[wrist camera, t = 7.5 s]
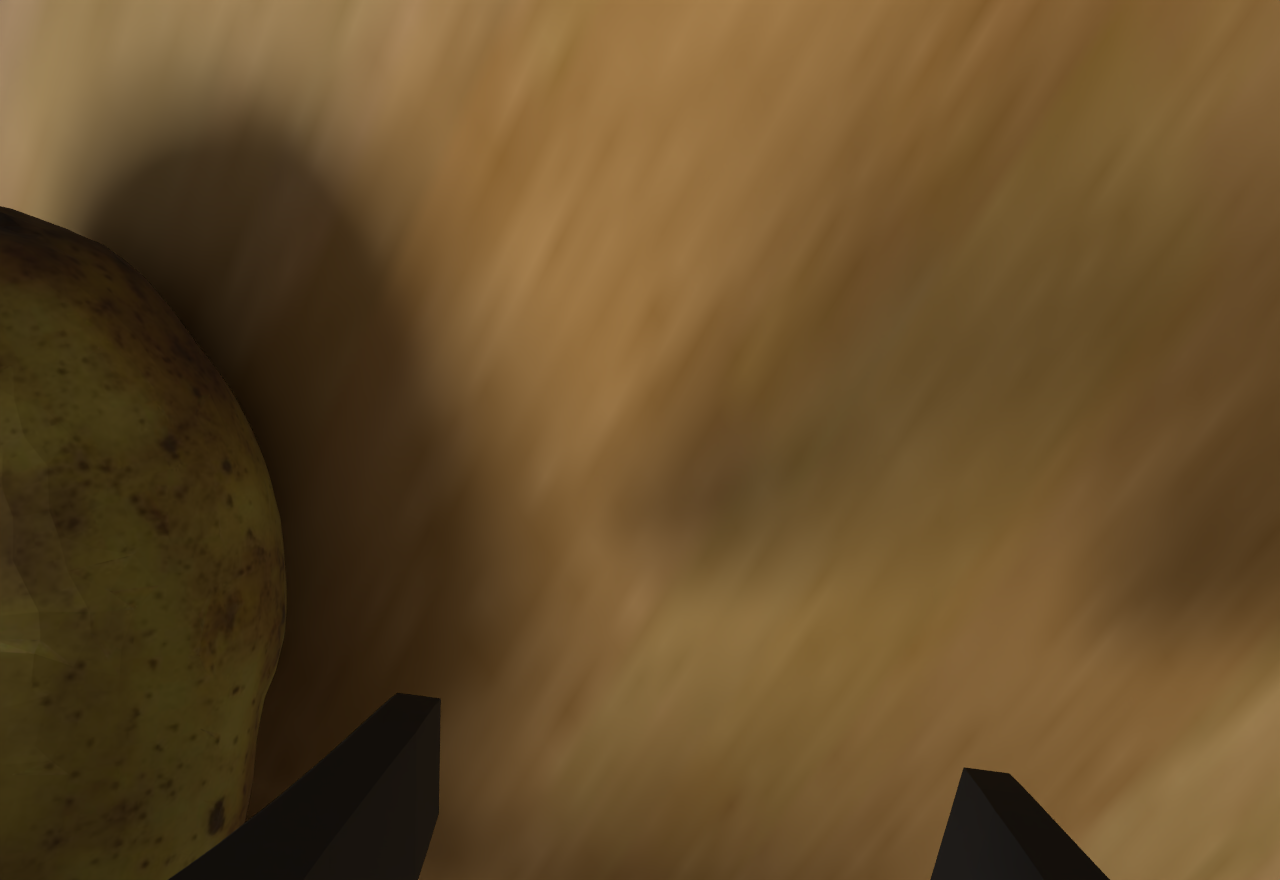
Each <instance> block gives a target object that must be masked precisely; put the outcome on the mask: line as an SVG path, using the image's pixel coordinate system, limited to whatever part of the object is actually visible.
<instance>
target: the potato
mask: <svg viewBox="0 0 1280 880" xmlns="http://www.w3.org/2000/svg"><path fill="white" fill-rule="evenodd" d="M286 610H287V591H286V571H285V558H284V545H283V536H282V527H281V519H280V515H279V511H278V507H277V504H276V500H275V496H274V492H273V488H272V483H271V479H270V476H269V473H268V470H267V467H266V464H265V461H264V458H263V456H262V453H261V451H260V448H259V446H258V443H257V441H256V438H255V436H254V433H253V431H252V429H251V427H250V425H249V423H248V421H247V419H246V417H245V415H244V413H243V412H242V410H241V408H240V406H239V404H238V402H237V400H236V398H235V396H234V395H233V393H232V392H231V390H230V389H229V387H228V386H227V384H226V383H225V381H224V380H223V378H222V377H221V375H220V374H219V372H218V371H217V369H216V368H215V367H214V366H213V364H212V363H211V362H210V360H209V359H208V358H207V356H206V355H205V354H204V353H203V351H202V350H201V349H200V347H199V346H198V345H197V343H196V342H195V341H194V339H193V338H192V337H191V335H190V334H189V332H188V331H187V330H186V328H185V327H184V325H183V324H182V323H181V321H180V320H179V318H178V317H177V316H176V314H175V313H174V312H173V310H172V309H171V308H170V307H169V305H168V304H167V303H166V302H165V301H164V300H163V298H162V297H161V296H160V295H159V294H158V293H157V291H156V290H155V289H154V288H153V287H152V286H151V284H150V283H149V282H148V281H147V280H146V279H145V278H144V277H143V276H142V275H141V274H140V273H139V272H138V271H137V270H136V269H134V268H133V267H132V266H131V265H130V264H128V263H127V262H126V261H125V260H123V259H122V258H120V257H119V256H118V255H116V254H115V253H114V252H112V251H111V250H110V249H108V248H107V247H106V246H104V245H102V244H100V243H97V242H95V241H92V240H90V239H88V238H85V237H83V236H81V235H78V234H76V233H74V232H72V231H70V230H68V229H65V228H62V227H60V226H57V225H54V224H52V223H49V222H46V221H44V220H41V219H38V218H36V217H33V216H30V215H27V214H24V213H22V212H19V211H16V210H13V209H10V208H5V207H1V206H0V880H168V879H169V878H171V877H172V876H174V875H175V874H177V873H178V872H179V871H181V870H182V869H184V868H185V867H187V866H188V865H189V864H191V863H192V862H194V861H195V860H196V859H198V858H199V857H201V856H202V855H203V854H205V853H206V852H207V851H209V850H210V849H212V848H213V847H214V846H216V845H217V844H218V843H220V842H221V841H222V840H223V839H225V838H226V837H227V836H229V835H230V834H231V833H233V832H234V831H235V830H236V829H238V828H239V827H240V826H242V825H243V824H244V823H245V819H246V814H247V809H248V804H249V799H250V794H251V789H252V784H253V778H254V766H255V754H256V741H257V735H258V729H259V724H260V718H261V713H262V709H263V704H264V699H265V696H266V693H267V691H268V689H269V686H270V684H271V681H272V679H273V676H274V674H275V672H276V668H277V664H278V660H279V656H280V652H281V648H282V644H283V640H284V635H285V625H286Z"/></svg>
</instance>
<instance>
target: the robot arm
mask: <svg viewBox="0 0 1280 880" xmlns="http://www.w3.org/2000/svg"><path fill="white" fill-rule="evenodd" d="M440 705H441V699H440V698H432V697H425V696H417V695H409V694H402V693H397V694H396V695H394V696H393V697H391V698H390V699H389V700H388V701H387V702H386V703H384V704H383V705H382V706H381V707H380V708H379V709H378V710H377V711H376V712H375V713H373V714H372V715H371V716H370V717H369V718H368V719H367V720H366V721H365V722H364V723H362V724H361V725H360V726H359V727H358V728H357V729H356V730H355V731H354V732H353V733H351V734H350V735H349V736H348V737H347V738H346V739H345V740H344V741H343V742H341V743H340V744H339V745H338V746H337V747H336V748H335V749H334V750H332V751H331V752H330V753H329V754H328V755H327V756H326V757H325V758H323V759H322V760H321V761H320V762H319V763H318V764H316V765H315V766H314V767H313V768H312V769H310V770H309V771H308V772H307V773H306V774H305V775H303V776H302V777H301V778H300V779H299V780H297V781H296V782H295V783H294V784H293V785H292V786H290V787H289V788H288V789H287V790H286V791H284V792H283V793H282V794H281V795H280V796H278V797H277V798H276V799H275V800H274V801H272V802H271V803H270V804H269V805H267V806H266V807H265V808H264V809H262V810H261V811H260V812H258V813H257V814H256V815H254V816H253V817H252V818H251V819H249V820H248V821H247V822H245V823H244V824H243V825H242V826H240V827H239V828H238V829H236V830H235V831H234V832H233V833H231V834H230V835H229V836H227V837H226V838H225V839H223V840H222V841H221V842H220V843H218V844H217V845H216V846H214V847H213V848H212V849H210V850H209V851H207V852H206V853H205V854H203V855H202V856H201V857H199V858H198V859H196V860H195V861H194V862H192V863H191V864H189V865H188V866H187V867H185V868H184V869H182V870H181V871H179V872H178V873H177V874H175V875H174V876H172V877H171V878H169V879H168V880H418V878H419V875H420V872H421V868H422V865H423V862H424V859H425V856H426V853H427V850H428V847H429V843H430V840H431V837H432V834H433V830H434V827H435V824H436V821H437V817H438V814H439V764H440ZM931 880H1110V879H1109V878H1108V877H1107V876H1106V875H1105V874H1104V873H1103V872H1102V871H1101V870H1100V869H1099V868H1098V867H1097V866H1096V865H1095V864H1094V863H1093V861H1092V860H1091V859H1090V858H1089V857H1088V856H1087V855H1086V854H1085V853H1084V852H1083V851H1082V850H1081V849H1080V848H1079V846H1078V845H1077V844H1076V843H1075V842H1074V841H1073V840H1072V839H1071V838H1070V837H1069V836H1068V835H1067V834H1066V833H1065V832H1064V830H1063V829H1062V828H1061V827H1060V826H1059V825H1058V824H1057V823H1056V822H1055V821H1054V820H1053V819H1052V818H1051V816H1050V815H1049V814H1048V813H1047V812H1046V811H1045V810H1044V809H1043V808H1042V807H1041V806H1040V805H1039V804H1038V803H1037V801H1036V800H1035V799H1034V798H1033V797H1032V796H1031V795H1030V794H1029V793H1028V792H1027V791H1026V790H1025V789H1024V788H1023V787H1022V786H1021V785H1020V784H1019V783H1018V782H1017V781H1016V780H1015V779H1014V778H1013V777H1012V776H1011V775H1010V774H1009V773H1002V772H994V771H987V770H979V769H971V768H964V769H963V772H962V775H961V779H960V782H959V785H958V789H957V792H956V795H955V799H954V802H953V806H952V809H951V812H950V816H949V819H948V822H947V826H946V829H945V833H944V836H943V839H942V843H941V846H940V849H939V853H938V856H937V859H936V863H935V866H934V870H933V873H932V876H931Z"/></svg>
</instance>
